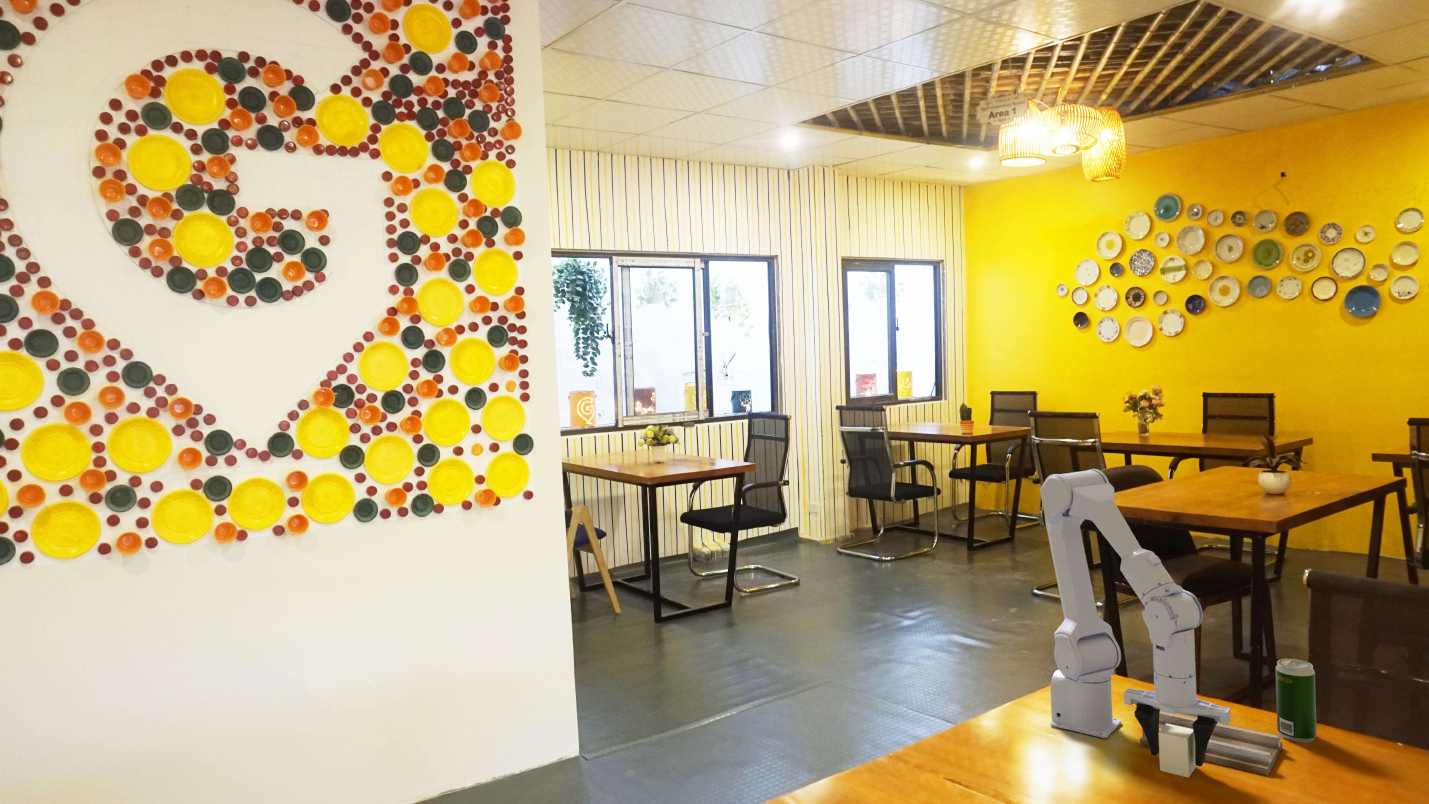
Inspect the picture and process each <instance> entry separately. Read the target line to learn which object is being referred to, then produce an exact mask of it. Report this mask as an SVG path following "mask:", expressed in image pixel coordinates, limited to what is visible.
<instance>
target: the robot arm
mask: <svg viewBox="0 0 1429 804" xmlns="http://www.w3.org/2000/svg"><path fill="white" fill-rule="evenodd" d="M1039 492H1040V498H1041V502H1042V503H1041V504H1042V508H1043V514H1044V521H1045V527H1046V532H1047V538H1048V542H1049V547H1050V552H1051V556H1052V562H1053V568H1054V572H1055V578H1056V584H1057V587H1058V593H1059V598H1060V603H1061V608H1062V612H1063V619H1064V620H1063V622H1061V624H1060V625H1059V626H1058V628H1057V629H1056V630H1055V632H1054V633H1053V637H1054V643H1055V644H1054V651H1053V655H1054V660H1055V661H1054V662H1055V664H1056V666H1057V668H1058V669H1056V670H1055V671H1054V673H1053V675H1052V677H1051V681H1050V708H1051V709H1050V711H1051V712H1050V713H1051V722H1049V723H1050V726H1051V727H1054V728H1059V729H1063V730H1067V731H1072V732H1076V733H1080V734H1085V735H1088V736H1093V737H1098V738H1102V739H1107V738H1108V737H1109V736H1110V735H1112V733H1113V732H1115V730H1116V729H1117V728H1118V727H1119V726H1120V725H1121V724H1122V720H1121V719H1120V718H1116V717H1115V718H1114V717H1113V716H1114V715H1113V698H1112V697H1113V696H1112V676H1114V675H1115V669H1116V668H1118V667H1119V665H1120V663H1121V661H1122V653H1121V652H1122V651H1121V648H1120V645H1119V644H1118V641H1117V640H1116V638H1115V636H1114V633H1113V628H1112V626H1111V625H1110V624H1109V623H1108V622H1106V621H1104V620H1103V619H1101V618H1100V617H1099V615H1098V610H1097V605H1096V600H1095V595H1094V591H1093V585H1092V581H1091V576H1090V572H1089V571H1090V570H1089V566H1088V561H1087V556H1086V553H1085V547H1084V541H1083V536H1082V531H1081V525H1082V523H1083V522H1084V521H1085V520H1088V521H1091V522H1093V524H1094V525H1095V526H1096V528H1097V529H1098V530H1099V532H1100V533H1101V534H1102V536H1103V537H1104V538H1105V539H1106V541H1108V543H1109V544H1110V546H1111V547H1112V548H1113V549H1114V551H1115V552H1116V553H1117V554H1118V555H1119V557H1120V558H1121V562H1120V566H1119V569H1120V572H1121V573H1122V575H1123V576H1124V578H1125V579H1126V581H1127V582H1128V584H1129V585H1130V588H1132V590H1133V591H1134V593H1135V594H1136V596H1137V597H1138V599H1139V600H1140V602H1141V603H1142V605H1143V606H1144V610H1142V611H1141V615H1142V619H1143V622H1144V624H1145V626H1146V627H1147V629H1148V633H1149V638H1148V639H1149V640H1150V642H1151V643H1152V658H1153V659H1152V660H1153V686H1154V688H1153V689H1154V690H1143V689H1134V688H1129V687H1128V688H1127V689H1126V690H1125V691H1124V692H1123V701H1124V702H1123V703H1124V705H1127V706H1132V705H1136V706H1135V710H1134V717H1135V719H1136V720H1137V722H1138V723H1139V725H1140V726H1141V729H1143V731H1144V733H1145V735H1146V738H1147V741H1148V743H1149V747H1150V748H1149V747H1148V748H1149V750H1150V754H1151V756H1155V757H1157V755H1159V716H1160V711H1161V712H1166V713H1171V714H1176V715H1177V714H1178V715H1183V716H1184V715H1185V716H1188V717H1193V718H1194V717H1195V718H1196V719H1197V720H1195V722H1194V723H1193V724H1192V725H1193V731H1194V737H1195V763H1196V767H1202V766H1203V765H1204V764H1205V761H1204V760H1205V753H1206V749H1207V745H1208V742H1209V740H1210V737H1211V735H1212V732H1213V730H1214V728H1215V726H1216V725H1217V723H1219V724H1223V725H1228V726H1229V724H1230V722H1231V721H1232V720H1231V719H1232V718H1231V708H1229V707H1225V706H1221V705H1218V704H1215V703H1212V702H1209V701H1206V700H1202V699H1200V698H1197V674H1196V650H1195V649H1196V645H1195V641H1196V640H1195V629H1196V628H1198V627H1199V626H1200V625H1201V624H1202V622H1203V617H1204V614H1203V609H1202V606H1201V603H1200V601H1199V600H1198V598H1197V597H1196V596H1195V594H1194V593H1192V592H1191V591H1188V590H1185V589H1184V588H1183V587H1182V586H1181V585H1179V584H1176V582H1175V581H1174V580H1173V578H1172V576H1171V575H1170V573H1169V572H1168V571H1167V570H1166V568H1165V566H1164V565H1163V563H1162V560H1161V559H1160V557H1159V556H1158V555H1156V554H1155V552H1154V551H1152V550H1148V549H1145V548H1142V546H1141V545H1140V543H1139V541H1138V540H1137V539H1136V536H1135V535H1134V533H1133V532H1132V530H1131V528H1130V526H1129V524H1128V522H1127V521H1126V519H1125V517H1124V516H1123V515H1122V513H1121V511H1120V509H1119V507H1118V506H1117V504H1116V503H1115V501H1114V499H1115V488H1114V486H1113V485H1112V484H1111V483H1110V482H1109V479H1108V477H1107V476H1106V474H1105V473H1104V472H1103V471H1102V470H1099V469H1097V468H1090V469H1087V470H1082V471H1073V472H1069V473H1068V472H1067V473H1060V474H1059V473H1055V474H1054V473H1053V474H1050V475H1048V476H1047V477H1046V478H1045V480H1044V481H1043V484H1042V485H1041V486H1040V487H1039Z"/></svg>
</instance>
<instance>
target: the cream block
mask: <svg viewBox="0 0 1429 804" xmlns="http://www.w3.org/2000/svg"><path fill="white" fill-rule="evenodd" d="M1158 755H1159V771H1161V772H1164V773H1169V774H1173V775H1177V776H1180V777H1185V778H1190V776H1191V775H1192V773H1193V772H1194V771H1195V769H1196V767H1197V766H1196V763H1195V737H1194V731H1193V729H1190V728H1185V727H1181V726H1176V725H1171V724H1167V723H1166V724H1165V726H1164V727H1163V728H1162V729H1161V730H1160V732H1159V753H1158Z"/></svg>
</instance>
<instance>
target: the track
mask: <svg viewBox="0 0 1429 804" xmlns="http://www.w3.org/2000/svg"><path fill="white" fill-rule="evenodd" d="M1195 720H1197V718H1196V717H1195V718H1194V717H1191V716H1186V715H1185V716H1184V715H1182V714H1177V713H1176V714H1171V713H1166V712H1162V711H1161V710H1160V716H1159V732H1160V730H1161V729H1162V728H1163V727H1164V726H1165V724H1166V723H1167V724H1171V725H1176V726H1181V727H1185V728H1190V729H1193V725H1192V724H1193V723H1194V722H1195ZM1141 729H1142V728H1141ZM1139 746H1142V747H1144V748H1145V747H1146V748H1149V749H1150V747H1149V743H1148V741H1147V738H1146V735H1145V733H1144V731H1143V729H1142V736H1141V737H1140V738H1139ZM1282 750H1283V741H1281V735H1276V734H1271V733H1267V732H1260V731H1256V730H1252V729H1247V728H1244V727H1243V728H1241V727H1237V726H1233V725H1229V724H1228V725H1223V724H1220V722H1218V723H1217V725H1216V726H1215V728H1214V730H1213V732H1212V735H1211V737H1210V740H1209V742H1208V745H1207V749H1206V753H1205V760H1204V762H1210V763H1212V764H1213V763H1214V764H1218V765H1222V766H1226V767H1231V768H1235V769H1239V770H1244V771H1248V772H1252V773H1255V774H1261V775H1263V776H1268V775H1269V773H1270V771H1271V770H1272V768H1273V767H1274V764H1275V763H1276V761H1277V759H1278V756H1279V755H1280V753H1281V751H1282Z"/></svg>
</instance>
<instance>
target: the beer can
mask: <svg viewBox="0 0 1429 804" xmlns="http://www.w3.org/2000/svg"><path fill="white" fill-rule="evenodd" d="M1276 664H1277V665H1276V666H1275V693H1276V699H1275V700H1276V724H1277V725H1276V727H1277V732H1278V734H1279V736H1280V737H1281V738H1283V739H1285V740H1288V741H1290V742H1295V743H1302V744H1303V743H1305V744H1306V743H1311V742H1314V740H1316V737H1317V735H1318V734H1317V733H1318V732H1317V706H1316V705H1317V702H1316V700H1317V698H1316V695H1317V694H1316V672H1315V670H1314V665H1313V664H1312V663H1310V662H1308V661H1305V660H1301V659H1297V658H1283V659H1282V658H1281V659H1278V660H1277V661H1276Z"/></svg>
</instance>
